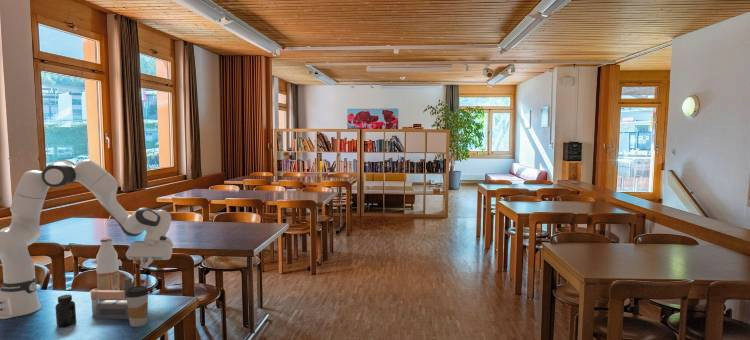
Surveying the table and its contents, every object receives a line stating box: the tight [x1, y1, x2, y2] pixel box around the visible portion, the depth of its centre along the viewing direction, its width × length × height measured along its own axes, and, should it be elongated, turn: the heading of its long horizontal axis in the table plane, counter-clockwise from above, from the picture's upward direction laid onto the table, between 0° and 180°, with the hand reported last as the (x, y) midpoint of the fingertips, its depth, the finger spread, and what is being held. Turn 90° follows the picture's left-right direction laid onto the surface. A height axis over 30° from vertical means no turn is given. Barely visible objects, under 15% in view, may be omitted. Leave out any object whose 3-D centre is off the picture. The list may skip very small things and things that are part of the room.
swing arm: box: [90, 277, 133, 300], centre depth 199 cm, size 18×3×8 cm, turn 88°
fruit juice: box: [95, 237, 120, 291], centre depth 226 cm, size 9×9×28 cm
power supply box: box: [91, 299, 129, 320], centre depth 200 cm, size 18×6×8 cm, turn 88°
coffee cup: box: [126, 285, 149, 328], centre depth 191 cm, size 8×8×15 cm
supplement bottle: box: [54, 294, 77, 329], centre depth 191 cm, size 7×7×12 cm
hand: (143, 267), depth 211 cm, fingers closed
